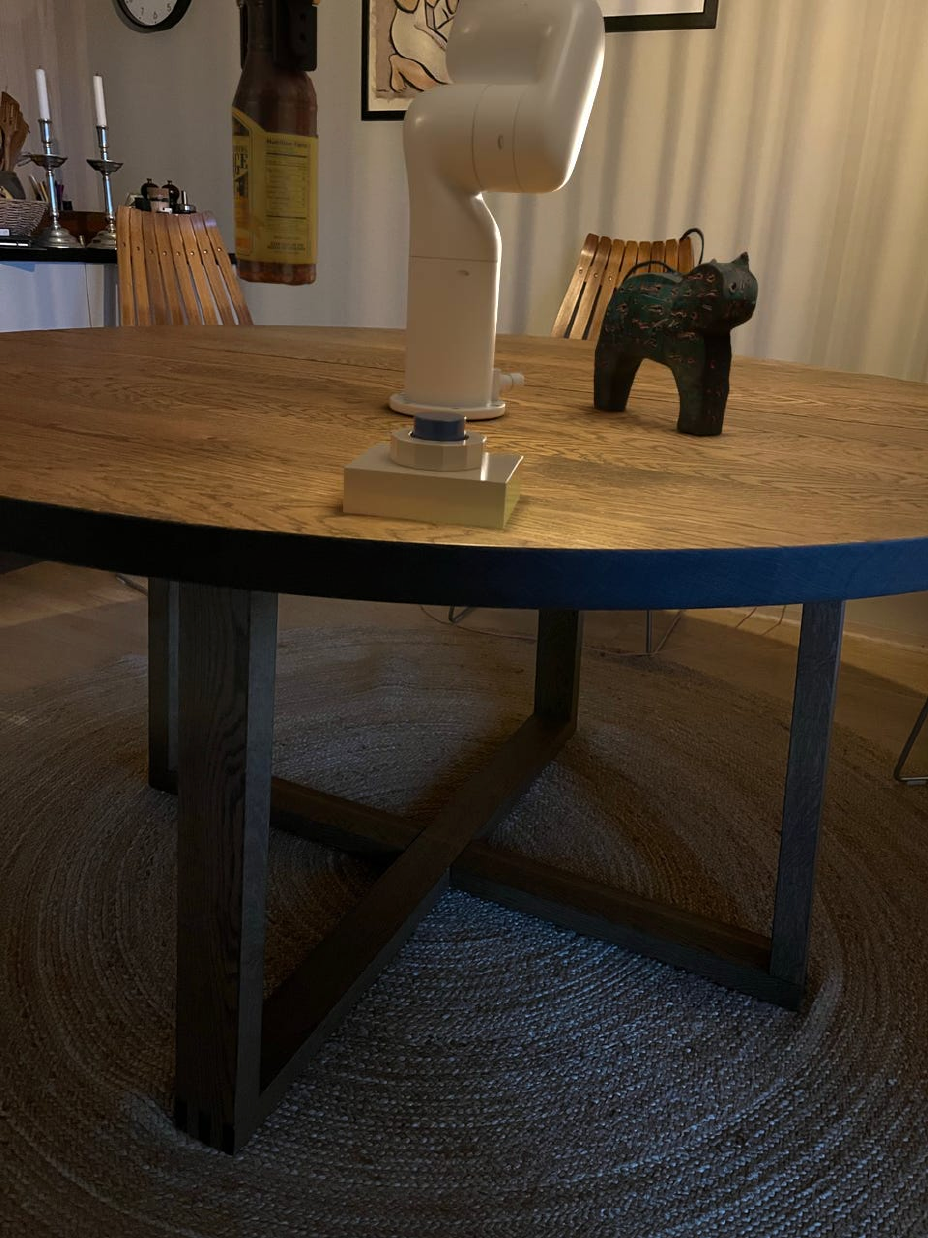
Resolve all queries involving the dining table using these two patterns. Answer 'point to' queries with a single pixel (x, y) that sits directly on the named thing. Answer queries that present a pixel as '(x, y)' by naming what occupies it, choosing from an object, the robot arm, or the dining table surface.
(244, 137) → the sauce bottle
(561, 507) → the dining table surface
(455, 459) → the push button base
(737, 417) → the dining table surface
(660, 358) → the ceramic cat
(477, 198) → the robot arm
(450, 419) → the cylinder
